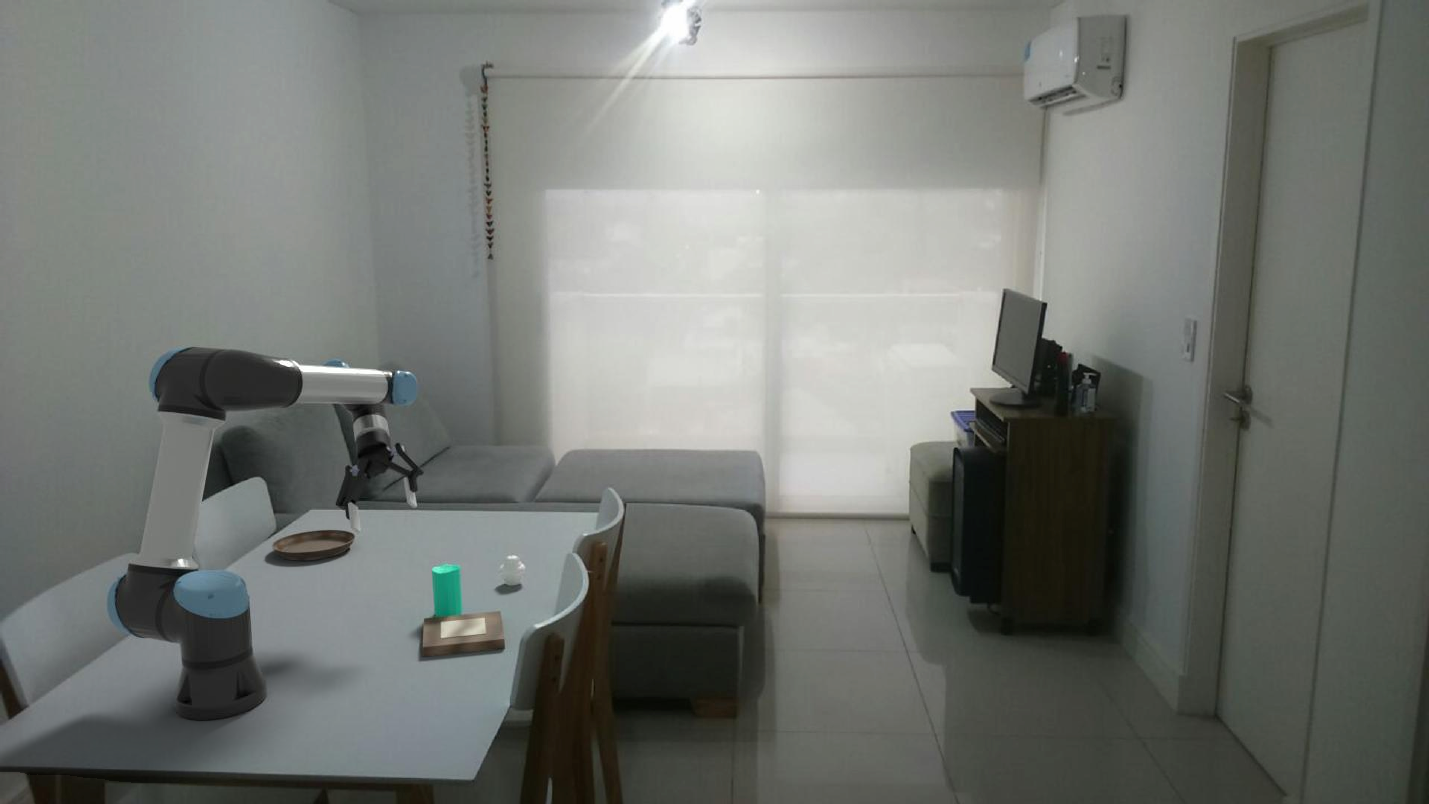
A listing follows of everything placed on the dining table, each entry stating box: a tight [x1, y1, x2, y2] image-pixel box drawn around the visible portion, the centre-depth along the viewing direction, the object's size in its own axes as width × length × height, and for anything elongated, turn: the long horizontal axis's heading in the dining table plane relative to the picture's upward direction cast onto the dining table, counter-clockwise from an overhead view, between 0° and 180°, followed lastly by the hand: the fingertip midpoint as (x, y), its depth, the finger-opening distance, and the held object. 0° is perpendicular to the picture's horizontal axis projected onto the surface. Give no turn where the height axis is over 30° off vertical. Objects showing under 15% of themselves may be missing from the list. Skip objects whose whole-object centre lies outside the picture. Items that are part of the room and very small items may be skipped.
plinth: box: [422, 610, 506, 657], centre depth 221 cm, size 16×16×2 cm
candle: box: [431, 560, 463, 617], centre depth 233 cm, size 6×6×12 cm
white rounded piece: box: [498, 555, 526, 587], centre depth 253 cm, size 6×6×7 cm
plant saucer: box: [271, 529, 356, 561], centre depth 280 cm, size 21×21×3 cm
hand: (384, 517), depth 228 cm, fingers open, 13 cm apart
